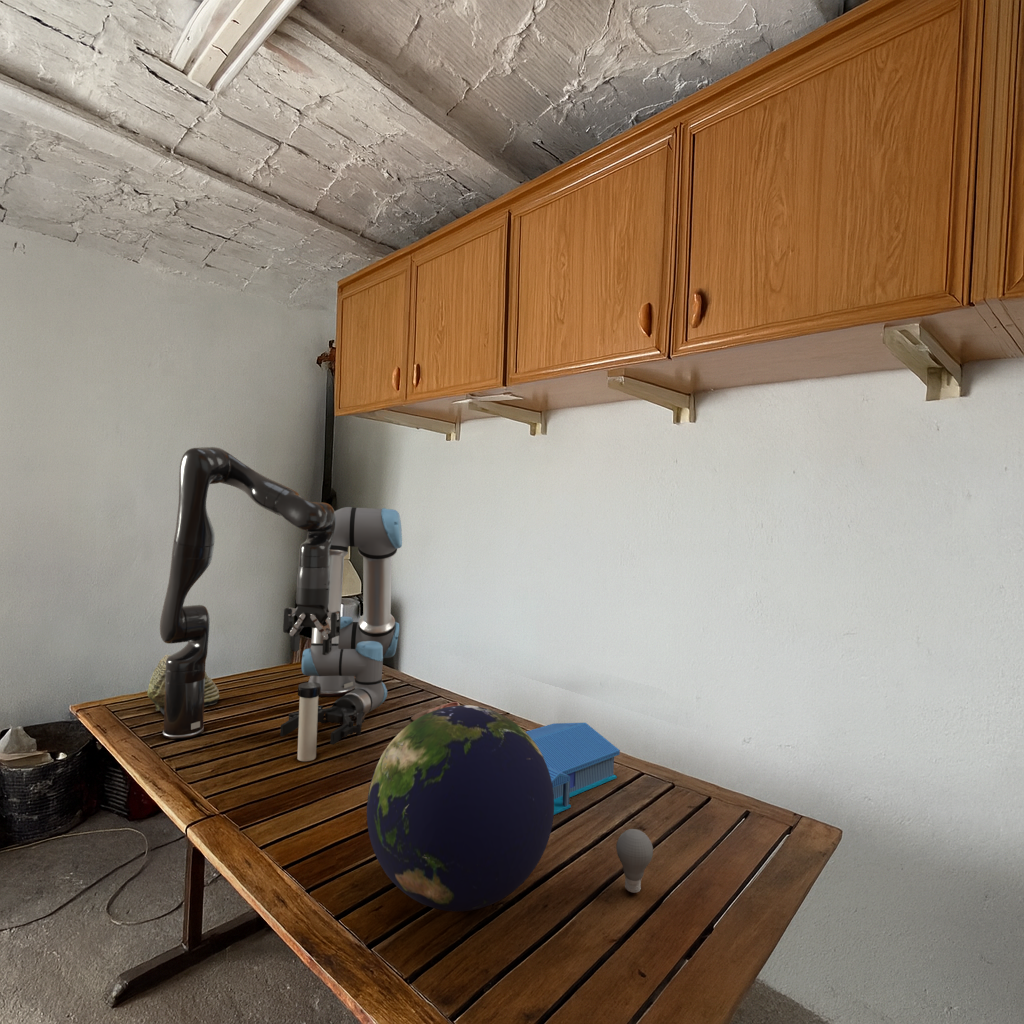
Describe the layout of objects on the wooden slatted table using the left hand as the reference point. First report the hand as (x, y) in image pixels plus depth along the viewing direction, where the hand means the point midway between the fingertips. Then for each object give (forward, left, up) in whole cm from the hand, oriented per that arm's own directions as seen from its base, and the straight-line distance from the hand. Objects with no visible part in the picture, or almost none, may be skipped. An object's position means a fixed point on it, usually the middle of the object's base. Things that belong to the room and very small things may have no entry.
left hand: (310, 652), depth 153 cm
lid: (0, 0, -8) cm, 8 cm away
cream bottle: (0, 0, -26) cm, 26 cm away
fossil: (-55, -12, -26) cm, 62 cm away
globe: (+65, -5, -26) cm, 70 cm away
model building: (+45, +32, -26) cm, 61 cm away
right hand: (+1, -1, -19) cm, 19 cm away
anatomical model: (-3, +41, -26) cm, 48 cm away
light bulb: (+82, +18, -26) cm, 88 cm away
